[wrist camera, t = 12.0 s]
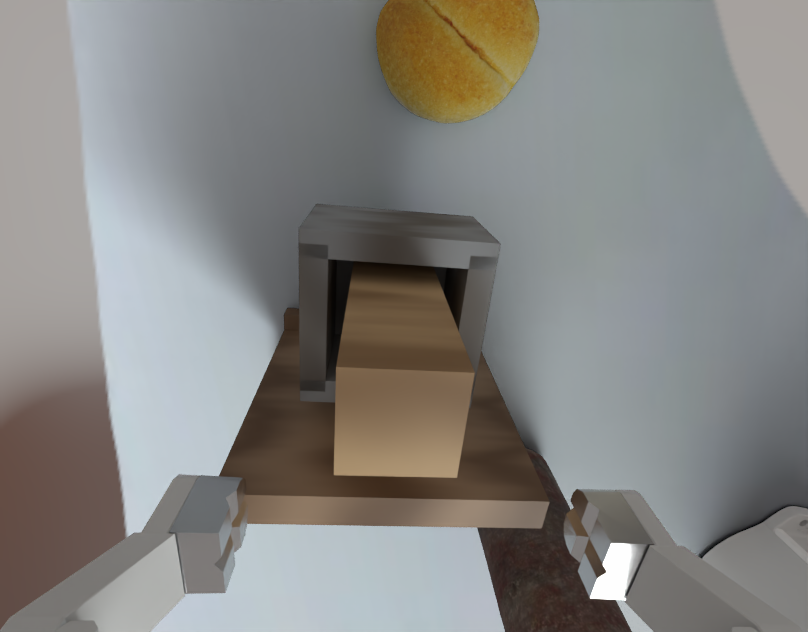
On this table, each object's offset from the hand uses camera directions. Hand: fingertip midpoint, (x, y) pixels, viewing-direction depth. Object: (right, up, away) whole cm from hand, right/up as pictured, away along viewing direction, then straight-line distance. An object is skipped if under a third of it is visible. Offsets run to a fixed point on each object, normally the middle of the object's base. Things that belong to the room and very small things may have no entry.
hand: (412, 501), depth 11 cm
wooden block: (-1, +6, +13) cm, 15 cm away
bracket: (-2, +6, +21) cm, 22 cm away
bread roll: (+3, +21, +15) cm, 26 cm away
